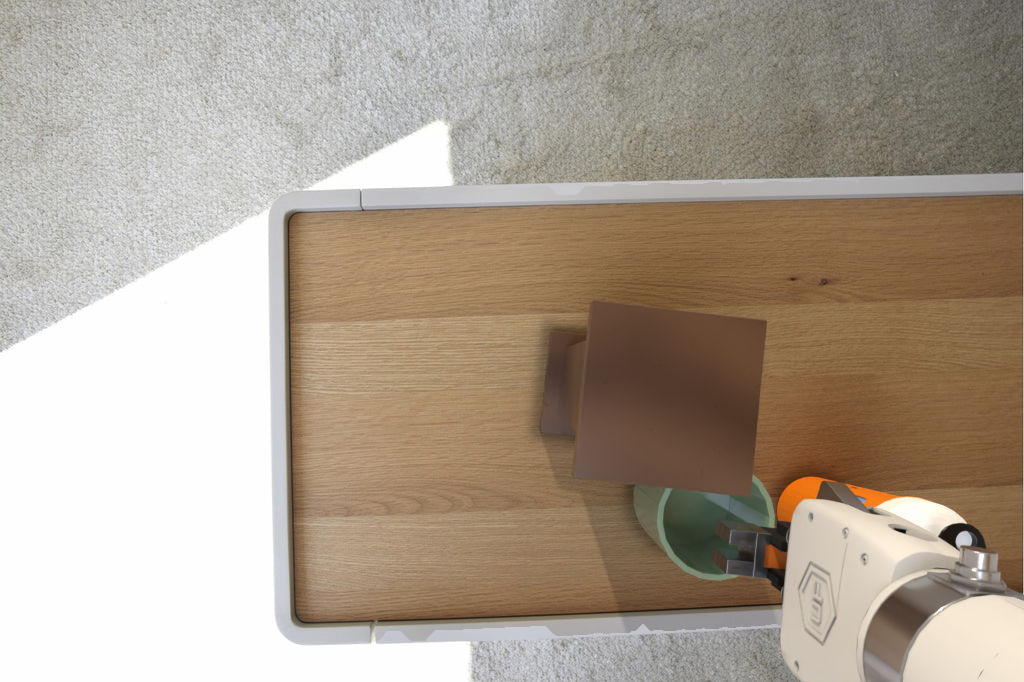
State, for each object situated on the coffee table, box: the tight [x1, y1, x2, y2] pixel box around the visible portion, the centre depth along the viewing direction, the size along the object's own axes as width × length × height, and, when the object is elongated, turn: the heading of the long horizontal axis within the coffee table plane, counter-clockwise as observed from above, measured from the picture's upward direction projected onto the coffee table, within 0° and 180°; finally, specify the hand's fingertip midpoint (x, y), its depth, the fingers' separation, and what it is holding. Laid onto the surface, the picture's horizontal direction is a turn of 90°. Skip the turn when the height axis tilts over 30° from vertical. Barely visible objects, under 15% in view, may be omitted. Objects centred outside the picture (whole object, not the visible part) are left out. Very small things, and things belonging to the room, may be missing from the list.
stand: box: [538, 299, 768, 497], centre depth 51 cm, size 10×10×29 cm
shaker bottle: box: [776, 476, 987, 551], centre depth 56 cm, size 9×9×20 cm
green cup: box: [632, 474, 776, 582], centre depth 60 cm, size 10×10×10 cm
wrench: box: [712, 519, 787, 580], centre depth 45 cm, size 6×3×3 cm, turn 83°
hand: (778, 549), depth 46 cm, fingers closed on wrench, 1 cm apart
